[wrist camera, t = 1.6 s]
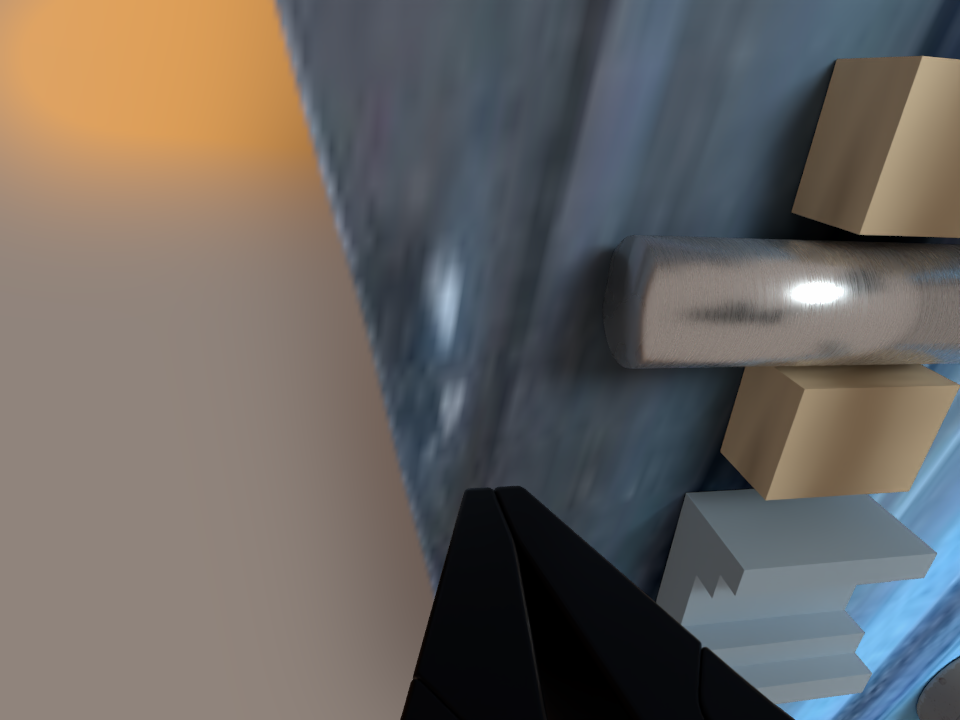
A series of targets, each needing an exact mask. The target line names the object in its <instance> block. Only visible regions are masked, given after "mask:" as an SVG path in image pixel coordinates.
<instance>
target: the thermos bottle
mask: <svg viewBox="0 0 960 720" xmlns="http://www.w3.org/2000/svg"><path fill="white" fill-rule="evenodd" d="M917 714H918V716H919V719H920V720H960V657H959V658H958V659H956V660H955V661H953V662H952V663H950V664H949V665H948V666H946V667H945V668H944V669H943V670H941V671H940V672H939V673H938V674H937V675H936V676H935V677H934V678H933V679H932V680H931V681H930V682H929V684H928V685H927V686H926V687H925V689H924V690H923V692H922V694H921V695H920V697H919V700H918V703H917Z"/></svg>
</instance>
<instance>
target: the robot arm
mask: <svg viewBox="0 0 960 720" xmlns="http://www.w3.org/2000/svg"><path fill="white" fill-rule="evenodd" d="M400 720H795V719H794V718H792V717H791V716H790V715H788V714H787V713H786V712H784V711H783V710H782V709H781V708H779V707H778V706H777V705H775V704H774V703H773V702H772V701H770V700H769V699H768V698H767V697H766V696H764V695H763V694H762V693H761V692H760V691H758V690H757V689H756V688H755V687H754V686H752V685H751V684H750V683H749V682H748V681H746V680H745V679H744V678H743V677H742V676H740V675H739V674H738V673H737V672H736V671H734V670H733V669H732V668H731V667H730V666H729V665H727V664H726V663H725V662H724V661H723V660H722V659H721V658H719V657H718V656H717V655H716V654H715V653H714V652H712V651H711V650H710V649H709V648H708V647H703V648H702V643H701V642H700V641H699V640H698V639H697V638H696V637H695V636H694V635H693V634H691V633H690V632H689V631H688V630H687V629H686V628H685V627H683V626H682V625H681V624H680V623H679V622H678V621H676V620H675V619H674V618H673V617H672V616H671V615H670V614H668V613H667V612H666V611H665V610H664V609H663V608H662V607H660V606H659V605H658V604H657V603H656V602H655V601H653V600H652V599H651V598H650V597H649V596H648V595H647V594H645V593H644V592H643V591H642V590H641V589H640V588H639V587H637V586H636V585H635V584H634V583H633V582H632V581H630V580H629V579H628V578H627V577H626V576H625V575H624V574H622V573H621V572H620V571H619V570H618V569H617V568H615V567H614V566H613V565H612V564H611V563H610V562H609V561H607V560H606V559H605V558H604V557H603V556H602V555H601V554H599V553H598V552H597V551H596V550H595V549H594V548H592V547H591V546H590V545H589V544H588V543H587V542H586V541H584V540H583V539H582V538H581V537H580V536H579V535H578V534H576V533H575V532H574V531H573V530H572V529H571V528H569V527H568V526H567V525H566V524H565V523H564V522H563V521H561V520H560V519H559V518H558V517H557V516H556V515H555V514H553V513H552V512H551V511H550V510H549V509H548V508H546V507H545V506H544V505H543V504H542V503H541V502H540V501H538V500H537V499H536V498H535V497H534V496H533V495H531V494H530V493H529V492H528V491H527V490H526V489H524V488H523V487H521V486H507V487H497V488H495V489H494V491H493V489H491V488H470V489H467V490H465V492H464V494H463V498H462V501H461V505H460V509H459V512H458V516H457V519H456V523H455V527H454V530H453V534H452V537H451V541H450V545H449V548H448V552H447V555H446V559H445V563H444V566H443V570H442V573H441V577H440V581H439V584H438V588H437V591H436V595H435V599H434V602H433V606H432V610H431V613H430V617H429V620H428V624H427V628H426V631H425V635H424V638H423V642H422V646H421V649H420V653H419V657H418V660H417V664H416V667H415V671H414V675H413V680H412V682H411V684H410V687H409V691H408V695H407V698H406V702H405V706H404V709H403V713H402V716H401V719H400Z"/></svg>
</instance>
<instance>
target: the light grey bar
mask: <svg viewBox="0 0 960 720" xmlns="http://www.w3.org/2000/svg"><path fill="white" fill-rule="evenodd" d="M603 322H604V329H605V335H606V339H607V343H608V346H609V348H610V351H611V353H612V355H613V357H614V358H615V360H616V361H617V362H618V363H619V364H620V365H621V366H622V367H625V368H629V369H637V368H700V367H762V366H825V365H887V364H950V363H960V244H926V243H891V242H856V241H821V240H785V239H750V238H715V237H680V236H645V235H632V236H628V237H626V238H625V239H623V240H622V241H621V242H620V243H619V245H618V246H617V248H616V249H615V251H614V253H613V255H612V258H611V261H610V267H609V273H608V279H607V285H606V291H605V297H604V303H603Z"/></svg>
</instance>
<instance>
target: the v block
mask: <svg viewBox="0 0 960 720" xmlns="http://www.w3.org/2000/svg"><path fill="white" fill-rule="evenodd" d="M936 555H937V553H936V552H935V551H934V550H933V549H932V548H931V547H929V546H928V545H927V544H926V543H925V542H923V541H922V540H921V539H920V538H919V537H917V536H916V535H915V534H914V533H913V532H912V531H910V530H909V529H908V528H907V527H906V526H904V525H903V524H902V523H901V522H900V521H899V520H897V519H896V518H895V517H894V516H893V515H891V514H890V513H889V512H888V511H887V510H885V509H884V508H883V507H882V506H881V505H880V504H878V503H877V502H876V501H875V500H874V499H872V498H871V497H870V496H869V495H868V494H859V495H843V496H828V497H812V498H796V499H781V500H765V499H764V498H763V497H762V496H761V495H760V494H759V493H758V492H757V491H756V490H755V489H744V490H727V491H710V492H693V493H686V495H685V499H684V503H683V506H682V510H681V513H680V517H679V521H678V524H677V528H676V531H675V535H674V539H673V542H672V546H671V549H670V553H669V557H668V560H667V564H666V567H665V571H664V575H663V578H662V582H661V586H660V589H659V593H658V596H657V600H656V603H657V604H658V605H659V606H660V607H662V608H663V609H664V610H665V611H666V612H667V613H668V614H670V615H671V616H672V617H673V618H674V619H675V620H676V621H678V622H679V623H680V624H681V625H682V626H683V627H685V628H686V629H687V630H688V631H689V632H690V633H691V634H693V635H694V636H695V637H696V638H697V639H698V640H699V641H700V642H701V643H702V648H703V647H708V648H709V649H710V650H711V651H712V652H714V653H715V654H716V655H717V656H718V657H719V658H721V659H722V660H723V661H724V662H725V663H726V664H727V665H729V666H730V667H731V668H732V669H733V670H734V671H736V672H737V673H738V674H739V675H740V676H742V677H743V678H744V679H745V680H746V681H748V682H749V683H750V684H751V685H752V686H754V687H755V688H756V689H757V690H758V691H760V692H761V693H762V694H763V695H764V696H766V697H767V698H768V699H769V700H770V701H772V702H773V703H774V704H781V703H788V702H795V701H803V700H810V699H818V698H825V697H832V696H840V695H847V694H855V693H862V691H863V689H864V687H865V686H866V684H867V682H868V680H869V678H870V676H871V675H872V673H871V671H870V670H869V669H868V668H867V667H866V665H865V664H864V663H863V662H862V661H861V659H860V658H859V657H858V656H857V655H856V654H855V651H856V649H857V647H858V645H859V643H860V641H861V639H862V637H863V635H864V633H865V632H864V631H863V630H862V629H861V628H860V627H859V626H858V625H857V623H856V622H855V621H854V620H853V619H852V618H851V617H850V616H849V614H848V613H847V612H846V611H845V608H846V606H847V604H848V601H849V599H850V597H851V595H852V593H853V591H854V589H855V587H856V585H860V584H871V583H881V582H891V581H897V580H907V579H918V578H924V577H925V575H926V573H927V571H928V570H929V568H930V566H931V564H932V562H933V560H934V559H935V557H936Z"/></svg>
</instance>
